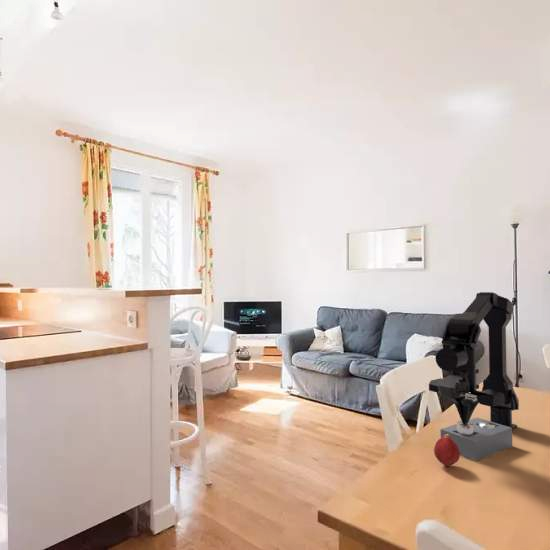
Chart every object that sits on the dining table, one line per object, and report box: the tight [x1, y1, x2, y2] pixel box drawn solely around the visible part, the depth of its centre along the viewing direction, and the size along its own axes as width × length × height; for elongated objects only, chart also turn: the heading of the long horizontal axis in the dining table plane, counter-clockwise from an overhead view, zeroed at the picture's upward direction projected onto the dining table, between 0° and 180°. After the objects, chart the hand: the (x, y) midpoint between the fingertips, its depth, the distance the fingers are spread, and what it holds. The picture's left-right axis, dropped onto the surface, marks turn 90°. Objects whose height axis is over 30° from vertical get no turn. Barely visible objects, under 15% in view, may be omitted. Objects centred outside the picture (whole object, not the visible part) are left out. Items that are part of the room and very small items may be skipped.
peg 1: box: [456, 420, 474, 437], centre depth 107 cm, size 4×4×5 cm
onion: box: [433, 434, 461, 468], centre depth 98 cm, size 6×6×8 cm
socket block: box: [440, 417, 513, 462], centre depth 110 cm, size 17×10×5 cm, turn 121°
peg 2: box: [479, 422, 495, 429], centre depth 112 cm, size 4×4×5 cm
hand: (465, 423), depth 107 cm, fingers closed, pressing on peg 1
